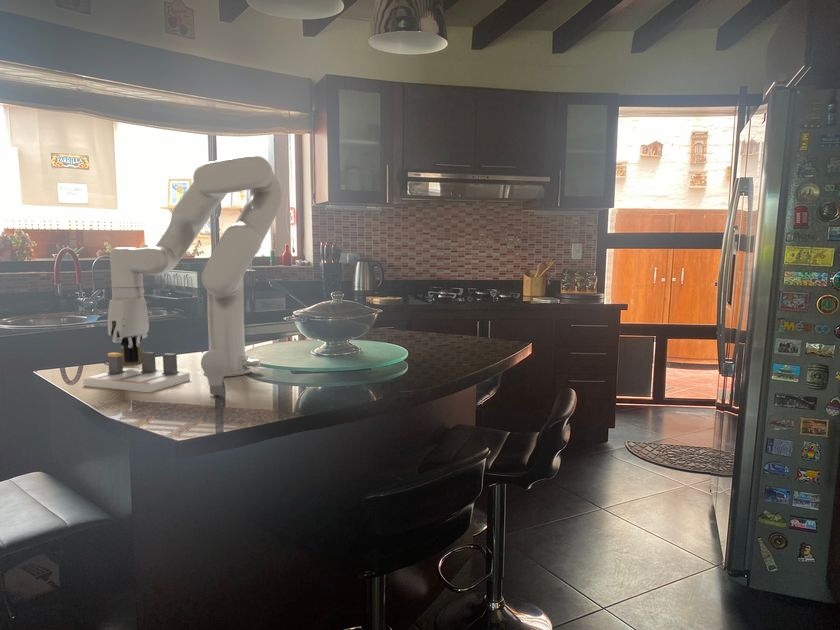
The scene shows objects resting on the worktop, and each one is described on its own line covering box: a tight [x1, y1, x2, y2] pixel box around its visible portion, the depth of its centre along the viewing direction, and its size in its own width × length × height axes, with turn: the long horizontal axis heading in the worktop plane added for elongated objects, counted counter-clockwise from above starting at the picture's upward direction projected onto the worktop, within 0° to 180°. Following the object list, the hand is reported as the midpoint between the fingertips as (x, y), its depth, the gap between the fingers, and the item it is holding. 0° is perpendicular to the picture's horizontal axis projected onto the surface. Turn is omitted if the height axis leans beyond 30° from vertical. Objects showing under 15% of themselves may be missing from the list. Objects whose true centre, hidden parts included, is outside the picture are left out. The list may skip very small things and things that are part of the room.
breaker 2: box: [162, 352, 180, 375], centre depth 153 cm, size 3×3×5 cm
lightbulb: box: [200, 350, 229, 397], centre depth 138 cm, size 6×6×11 cm
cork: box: [121, 339, 142, 366], centre depth 178 cm, size 6×6×11 cm
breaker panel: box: [82, 367, 191, 393], centre depth 152 cm, size 14×21×2 cm, turn 71°
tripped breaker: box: [107, 352, 125, 374], centre depth 154 cm, size 3×3×5 cm
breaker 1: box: [140, 351, 158, 373], centre depth 155 cm, size 3×3×5 cm
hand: (131, 361), depth 159 cm, fingers closed
